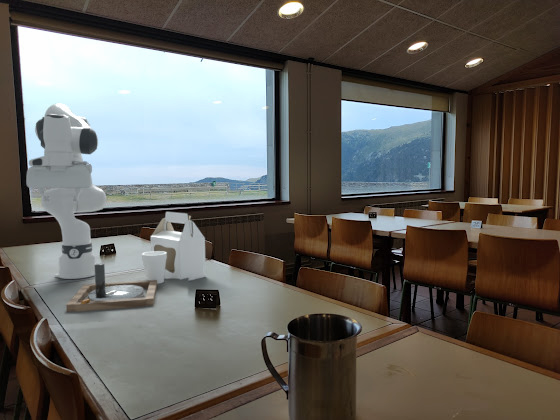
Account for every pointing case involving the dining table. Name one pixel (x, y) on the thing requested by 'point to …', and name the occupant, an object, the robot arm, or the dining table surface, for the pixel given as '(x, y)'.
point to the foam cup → (154, 265)
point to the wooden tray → (86, 305)
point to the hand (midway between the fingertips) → (61, 201)
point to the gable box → (180, 247)
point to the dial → (112, 288)
